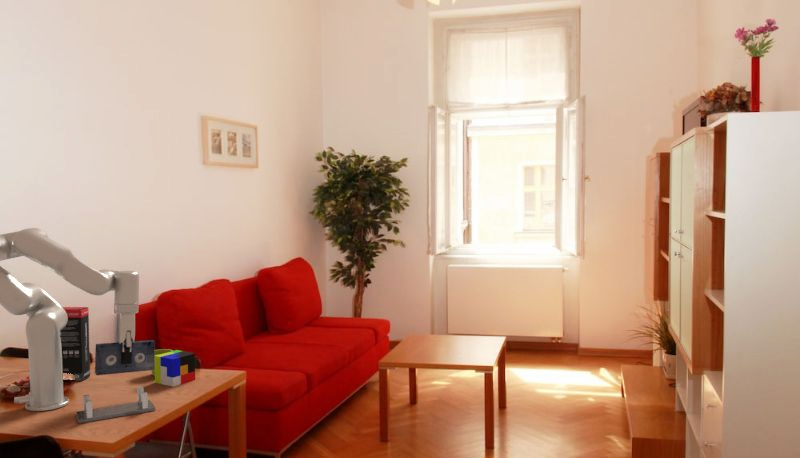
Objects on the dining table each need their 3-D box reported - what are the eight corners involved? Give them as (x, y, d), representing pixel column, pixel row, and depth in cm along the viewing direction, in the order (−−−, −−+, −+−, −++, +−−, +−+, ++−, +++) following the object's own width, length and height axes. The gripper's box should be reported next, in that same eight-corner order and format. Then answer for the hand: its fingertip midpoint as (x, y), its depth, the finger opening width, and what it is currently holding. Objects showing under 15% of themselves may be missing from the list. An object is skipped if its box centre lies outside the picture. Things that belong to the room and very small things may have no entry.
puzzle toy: (173, 386, 235) (172, 359, 234) (155, 382, 240) (154, 355, 240) (195, 380, 243) (194, 353, 243) (177, 376, 249) (176, 350, 248)
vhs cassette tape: (153, 368, 225) (153, 339, 225) (154, 370, 223) (155, 341, 222) (94, 373, 216) (95, 343, 216) (95, 375, 214) (96, 345, 213)
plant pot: (141, 376, 248) (141, 353, 248) (159, 370, 257) (159, 348, 256) (161, 378, 245) (160, 355, 244) (178, 372, 253) (178, 350, 253)
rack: (79, 423, 197) (78, 404, 197) (75, 415, 205) (75, 396, 205) (155, 410, 209) (154, 392, 209) (149, 402, 217) (149, 385, 216)
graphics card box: (92, 376, 248) (89, 305, 247) (83, 381, 241) (81, 308, 240) (46, 377, 248) (43, 305, 246) (36, 382, 241) (33, 309, 239)
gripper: (110, 304, 223) (109, 358, 224) (118, 312, 210) (116, 369, 211) (134, 303, 227) (132, 356, 228) (142, 311, 214) (141, 367, 214)
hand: (125, 362), depth 219 cm, fingers closed on vhs cassette tape, 2 cm apart
